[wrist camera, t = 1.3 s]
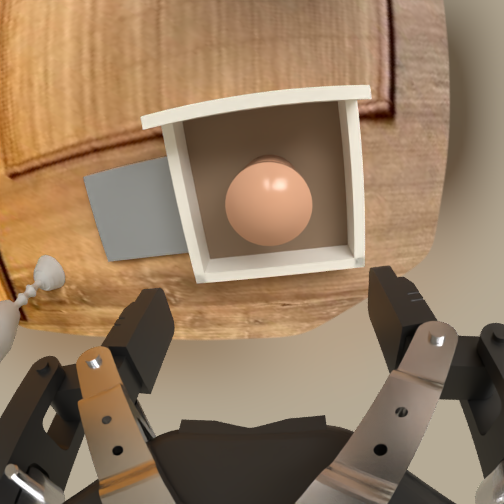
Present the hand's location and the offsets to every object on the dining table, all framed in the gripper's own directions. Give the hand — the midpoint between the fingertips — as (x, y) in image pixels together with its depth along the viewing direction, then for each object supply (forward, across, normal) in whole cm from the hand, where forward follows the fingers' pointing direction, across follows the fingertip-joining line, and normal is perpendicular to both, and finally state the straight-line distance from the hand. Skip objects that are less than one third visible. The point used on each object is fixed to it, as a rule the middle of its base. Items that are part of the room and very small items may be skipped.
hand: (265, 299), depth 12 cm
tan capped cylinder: (+19, 0, 0) cm, 19 cm away
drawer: (+20, 0, 0) cm, 20 cm away
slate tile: (+20, +14, +1) cm, 24 cm away
